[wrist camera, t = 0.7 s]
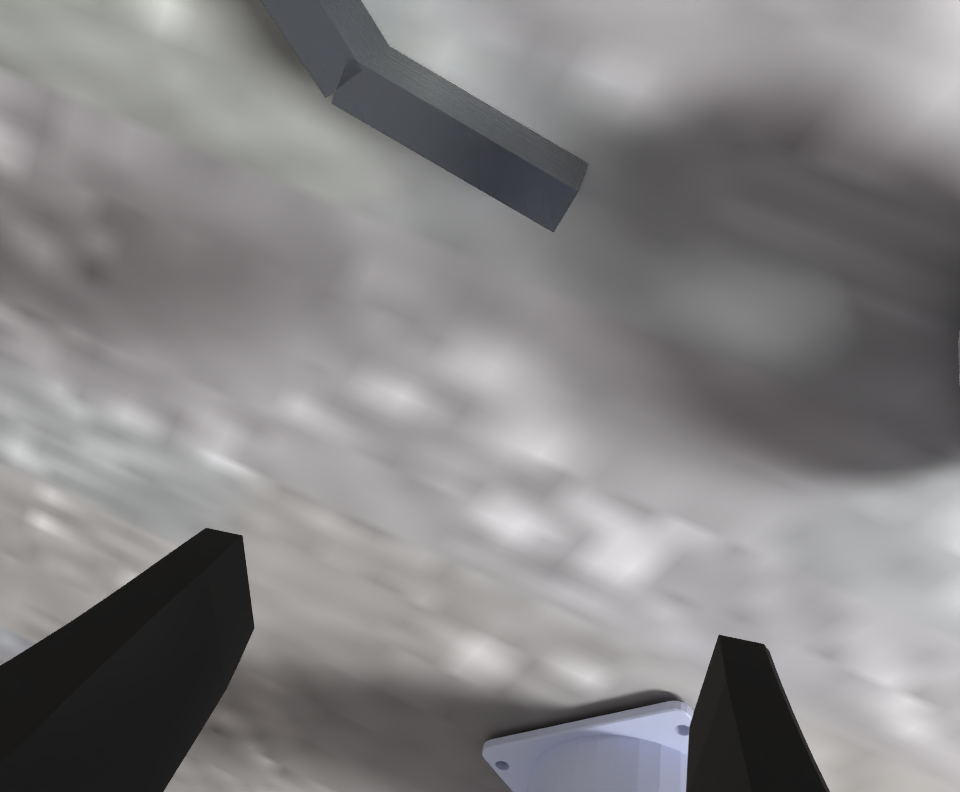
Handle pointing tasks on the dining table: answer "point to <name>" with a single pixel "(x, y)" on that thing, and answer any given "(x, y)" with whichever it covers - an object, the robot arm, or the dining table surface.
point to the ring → (427, 109)
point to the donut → (959, 356)
